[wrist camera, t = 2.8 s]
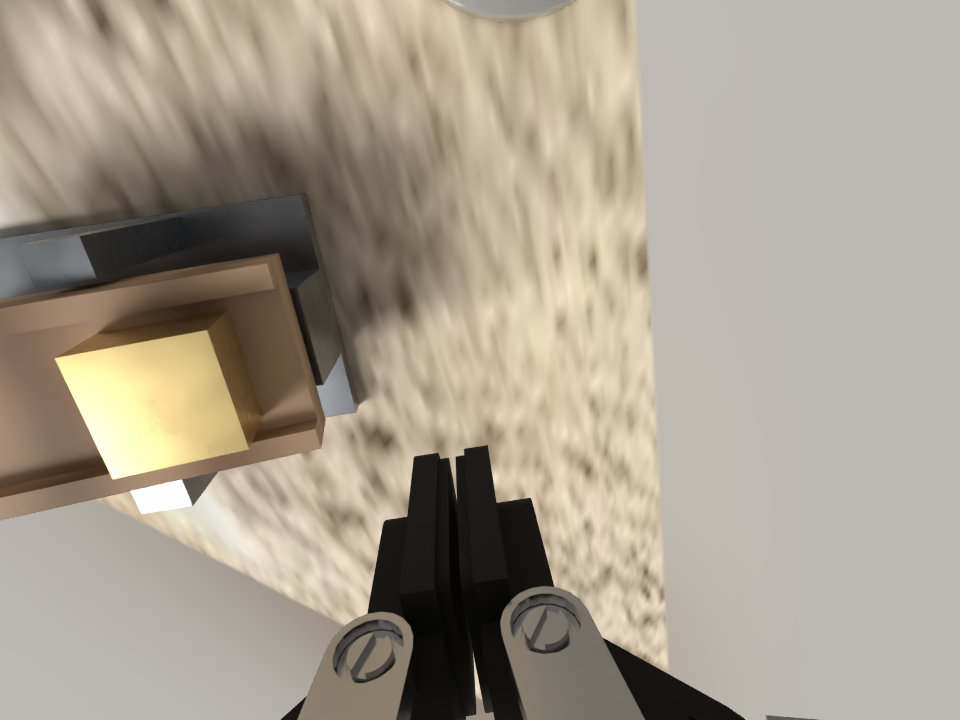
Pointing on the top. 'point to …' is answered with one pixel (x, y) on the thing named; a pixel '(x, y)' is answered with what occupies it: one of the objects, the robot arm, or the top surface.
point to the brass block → (164, 393)
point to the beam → (128, 303)
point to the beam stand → (185, 245)
